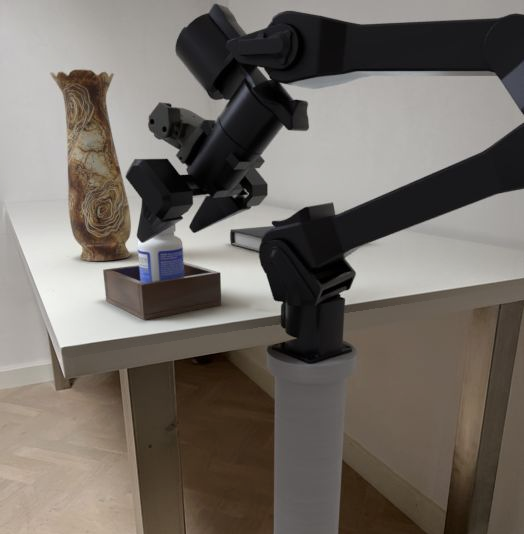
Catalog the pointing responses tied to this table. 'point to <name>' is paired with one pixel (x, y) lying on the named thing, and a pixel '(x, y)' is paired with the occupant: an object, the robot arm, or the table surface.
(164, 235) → the pill bottle
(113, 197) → the vase
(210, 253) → the table surface
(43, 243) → the table surface
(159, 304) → the box
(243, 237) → the book
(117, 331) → the table surface
